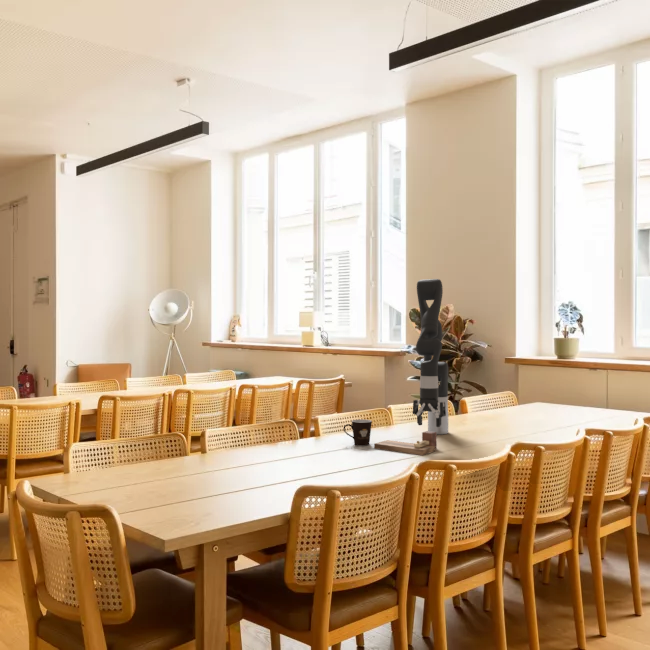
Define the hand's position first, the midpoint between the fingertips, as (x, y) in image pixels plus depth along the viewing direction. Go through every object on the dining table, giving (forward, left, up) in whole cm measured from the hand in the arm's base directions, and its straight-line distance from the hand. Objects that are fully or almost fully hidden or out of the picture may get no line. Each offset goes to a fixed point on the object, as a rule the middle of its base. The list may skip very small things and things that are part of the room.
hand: (429, 426), depth 295 cm
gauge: (+4, 0, -10) cm, 10 cm away
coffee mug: (+8, -30, -10) cm, 33 cm away
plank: (+7, -8, -10) cm, 14 cm away
